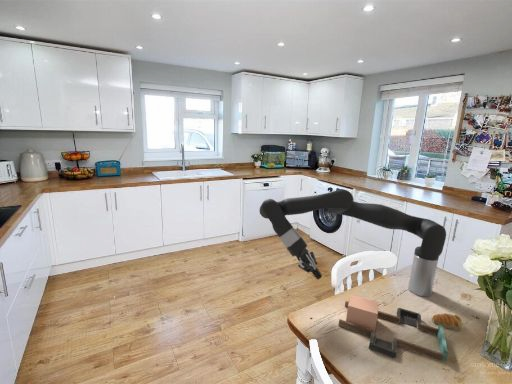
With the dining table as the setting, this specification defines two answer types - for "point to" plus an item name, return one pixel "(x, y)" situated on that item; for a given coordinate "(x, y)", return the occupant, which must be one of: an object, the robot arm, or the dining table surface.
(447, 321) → the pastry
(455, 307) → the dining table surface
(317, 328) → the dining table surface
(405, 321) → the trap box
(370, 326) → the block
